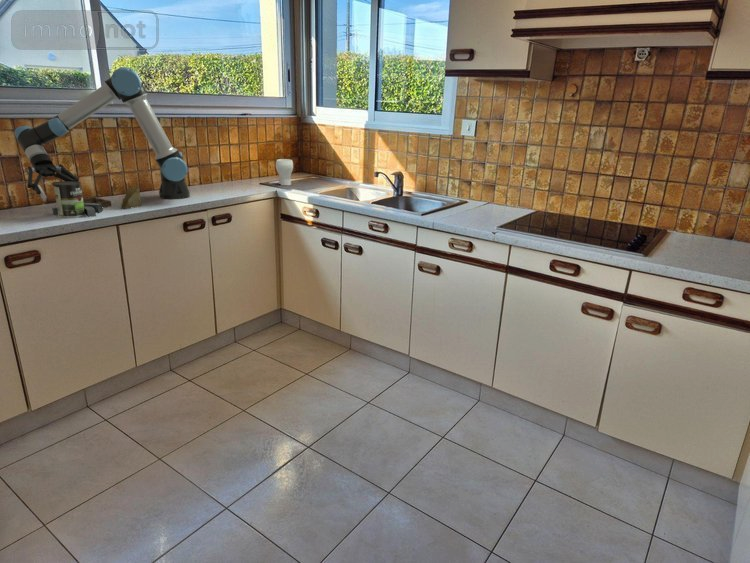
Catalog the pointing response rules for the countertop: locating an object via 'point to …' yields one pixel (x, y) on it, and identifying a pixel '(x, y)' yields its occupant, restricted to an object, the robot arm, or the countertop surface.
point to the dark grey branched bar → (86, 209)
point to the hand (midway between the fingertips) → (62, 197)
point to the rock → (131, 198)
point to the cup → (284, 170)
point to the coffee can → (69, 199)
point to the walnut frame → (97, 201)
